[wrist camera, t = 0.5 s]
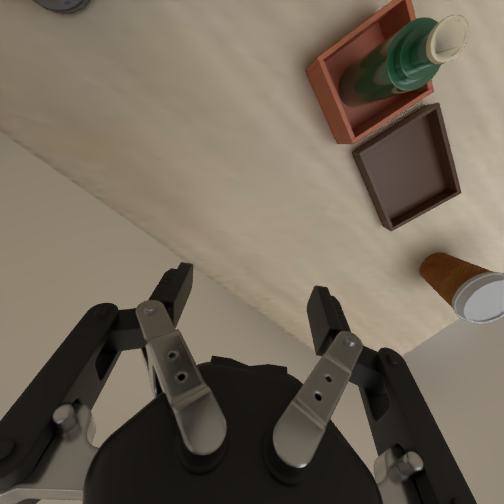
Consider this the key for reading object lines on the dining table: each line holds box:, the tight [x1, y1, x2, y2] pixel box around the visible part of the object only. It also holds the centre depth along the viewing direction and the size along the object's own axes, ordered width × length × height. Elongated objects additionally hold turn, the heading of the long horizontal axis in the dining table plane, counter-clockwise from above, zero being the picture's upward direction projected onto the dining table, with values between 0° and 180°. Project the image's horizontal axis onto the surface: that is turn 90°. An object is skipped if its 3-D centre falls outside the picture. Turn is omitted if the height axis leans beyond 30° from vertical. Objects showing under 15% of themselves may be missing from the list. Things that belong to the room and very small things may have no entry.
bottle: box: [339, 15, 469, 107], centre depth 26 cm, size 6×6×16 cm
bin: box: [305, 0, 434, 144], centre depth 31 cm, size 11×11×6 cm
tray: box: [352, 103, 461, 231], centre depth 38 cm, size 15×12×3 cm
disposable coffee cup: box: [420, 253, 504, 324], centre depth 42 cm, size 10×10×12 cm
